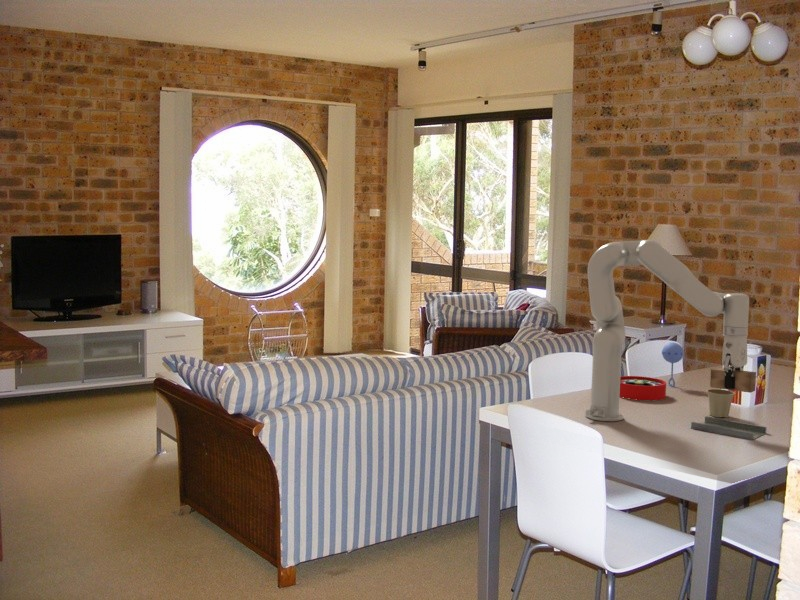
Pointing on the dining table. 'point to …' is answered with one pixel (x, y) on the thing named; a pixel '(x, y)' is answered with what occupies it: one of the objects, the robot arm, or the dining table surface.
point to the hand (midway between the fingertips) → (732, 386)
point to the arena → (730, 428)
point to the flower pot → (720, 402)
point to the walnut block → (743, 380)
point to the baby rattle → (672, 356)
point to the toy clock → (642, 388)
